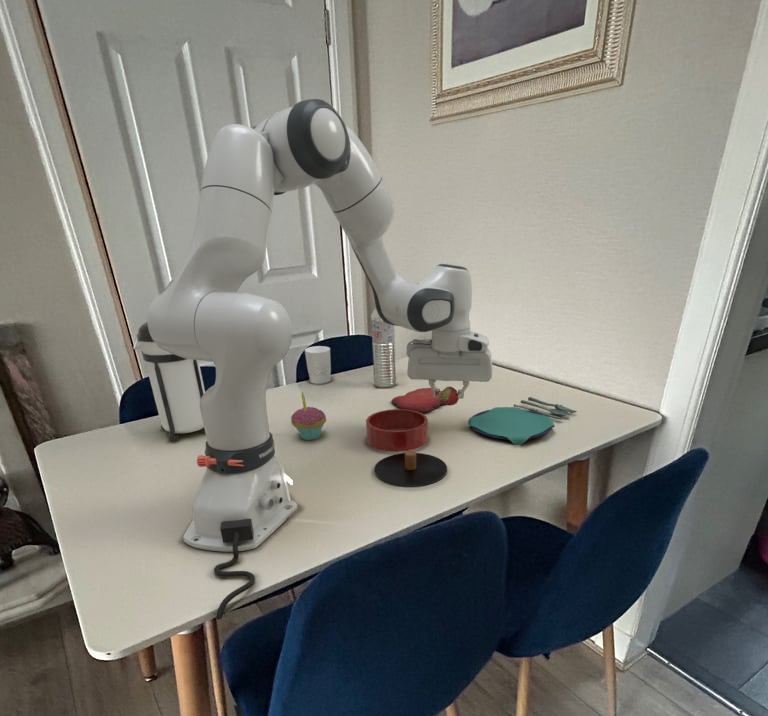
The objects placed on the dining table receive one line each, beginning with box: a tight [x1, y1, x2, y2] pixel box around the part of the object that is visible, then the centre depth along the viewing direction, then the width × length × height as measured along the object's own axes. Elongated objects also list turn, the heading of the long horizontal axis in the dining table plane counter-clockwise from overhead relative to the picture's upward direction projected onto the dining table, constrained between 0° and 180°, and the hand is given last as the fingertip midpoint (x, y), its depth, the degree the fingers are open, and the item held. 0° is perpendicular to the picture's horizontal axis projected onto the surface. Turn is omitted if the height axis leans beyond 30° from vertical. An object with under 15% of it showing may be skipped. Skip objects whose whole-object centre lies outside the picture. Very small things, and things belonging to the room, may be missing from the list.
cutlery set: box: [467, 396, 578, 445], centre depth 136 cm, size 20×30×2 cm, turn 132°
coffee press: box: [133, 321, 206, 443], centre depth 133 cm, size 17×16×30 cm
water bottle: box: [370, 307, 397, 389], centre depth 161 cm, size 7×7×25 cm
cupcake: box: [290, 391, 327, 441], centre depth 131 cm, size 9×8×12 cm
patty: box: [391, 387, 446, 414], centre depth 152 cm, size 18×14×2 cm
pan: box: [365, 408, 429, 453], centre depth 128 cm, size 14×14×5 cm
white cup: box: [304, 345, 332, 385], centre depth 170 cm, size 8×8×10 cm
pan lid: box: [373, 450, 448, 488], centre depth 114 cm, size 15×15×5 cm
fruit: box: [438, 386, 460, 406], centre depth 133 cm, size 4×6×5 cm
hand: (448, 397), depth 133 cm, fingers closed on fruit, 4 cm apart
